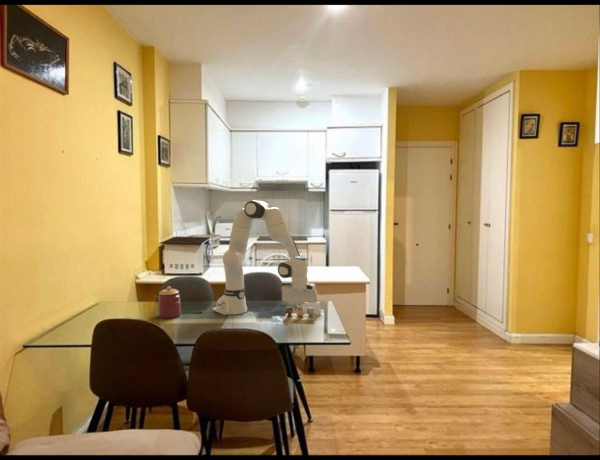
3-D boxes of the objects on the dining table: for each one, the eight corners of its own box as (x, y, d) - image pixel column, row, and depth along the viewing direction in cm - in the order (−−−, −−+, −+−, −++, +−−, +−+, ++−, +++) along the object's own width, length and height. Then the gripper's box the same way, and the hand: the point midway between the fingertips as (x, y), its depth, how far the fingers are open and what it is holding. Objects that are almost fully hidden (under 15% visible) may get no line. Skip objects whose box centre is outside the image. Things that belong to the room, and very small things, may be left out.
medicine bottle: (320, 314, 235) (320, 294, 234) (313, 316, 230) (312, 296, 229) (311, 311, 240) (311, 292, 239) (304, 314, 235) (303, 294, 234)
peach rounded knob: (295, 319, 222) (295, 310, 222) (297, 317, 226) (297, 308, 226) (302, 319, 221) (302, 310, 221) (304, 317, 225) (303, 308, 225)
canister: (169, 311, 243) (168, 283, 242) (185, 314, 238) (185, 285, 236) (153, 317, 232) (152, 287, 230) (170, 320, 226) (169, 289, 225)
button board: (283, 322, 219) (283, 318, 219) (287, 316, 231) (287, 312, 231) (313, 323, 216) (313, 320, 216) (316, 317, 228) (316, 314, 228)
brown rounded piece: (285, 316, 223) (285, 308, 223) (286, 314, 227) (286, 306, 227) (292, 317, 222) (292, 308, 222) (293, 315, 226) (293, 306, 226)
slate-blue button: (306, 317, 221) (306, 308, 221) (307, 315, 225) (307, 306, 225) (313, 317, 220) (313, 309, 220) (314, 315, 224) (314, 307, 224)
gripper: (280, 285, 221) (280, 310, 222) (316, 286, 218) (317, 311, 219) (282, 283, 227) (283, 307, 228) (318, 284, 224) (318, 308, 225)
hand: (299, 309), depth 223 cm, fingers closed
